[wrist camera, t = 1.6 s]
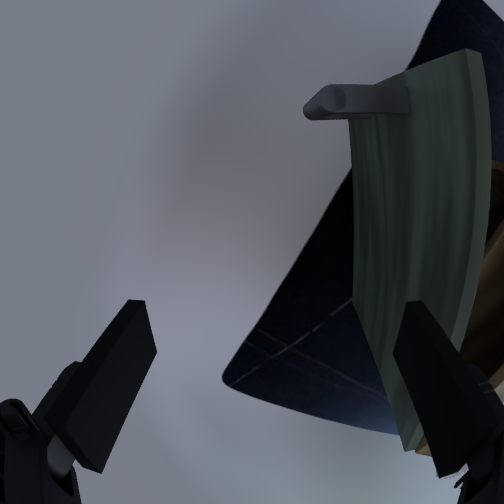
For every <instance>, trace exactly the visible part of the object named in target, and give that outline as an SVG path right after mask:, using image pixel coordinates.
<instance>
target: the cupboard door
mask: <svg viewBox="0 0 504 504" xmlns="http://www.w3.org/2000/svg"><path fill="white" fill-rule="evenodd" d="M303 113H304V115H305V117H306V118H308V119H309V120H335V119H348V122H349V134H350V146H351V160H352V180H353V210H354V263H353V293H352V303H353V305H354V307H355V310H356V312H357V315H358V317H359V320H360V323H361V325H362V328H363V330H364V333H365V335H366V338H367V341H368V343H369V346H370V349H371V351H372V354H373V357H374V359H375V362H376V365H377V368H378V371H379V373H380V376H381V379H382V382H383V385H384V388H385V391H386V394H387V397H388V400H389V403H390V406H391V409H392V412H393V415H394V418H395V421H396V424H397V428H398V431H399V434H400V438H401V441H402V444H403V448H404V451H405V452H406V451H410V450H414V449H416V447H417V445H418V444H419V442H420V440H421V438H422V436H423V434H424V432H423V429H422V426H421V424H420V421H419V418H418V416H417V413H416V410H415V408H414V405H413V403H412V400H411V397H410V395H409V392H408V390H407V387H406V385H405V383H404V380H403V378H402V375H401V373H400V371H399V368H398V366H397V364H396V361H395V359H394V357H393V354H392V353H393V349H394V346H395V343H396V339H397V336H398V332H399V328H400V325H401V321H402V317H403V313H404V309H405V305H406V301H423V303H424V304H425V305H426V307H427V308H428V309H429V311H430V312H431V313H432V315H433V316H434V318H435V319H436V320H437V322H438V323H439V325H440V326H441V328H442V329H443V330H444V332H445V333H446V335H447V336H448V338H449V339H450V341H451V342H452V344H453V345H454V347H455V348H456V350H457V351H458V353H459V350H460V347H461V344H462V341H463V338H464V334H465V331H466V328H467V324H468V321H469V317H470V314H471V310H472V306H473V302H474V298H475V294H476V290H477V285H478V280H479V276H480V271H481V265H482V260H483V254H484V247H485V241H486V233H487V225H488V216H489V204H490V189H491V129H490V114H489V103H488V94H487V86H486V79H485V73H484V67H483V61H482V56H481V53H479V52H476V51H472V50H469V49H463V50H460V51H457V52H454V53H451V54H448V55H446V56H443V57H440V58H437V59H435V60H432V61H429V62H427V63H424V64H422V65H419V66H417V67H414V68H412V69H409V70H407V71H404V72H402V73H400V74H397V75H395V76H393V77H390V78H388V79H386V80H383V81H381V82H379V83H377V84H375V85H357V84H352V85H351V84H350V85H349V84H333V85H327V86H325V87H323V88H322V89H321V90H320V91H319V92H318V93H317V94H316V95H315V96H314V97H312V98H311V99H310V100H309V101H308V102H307V103H306V104H305V105H304V108H303Z"/></svg>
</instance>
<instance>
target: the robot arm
mask: <svg viewBox="0 0 504 504" xmlns="http://www.w3.org/2000/svg"><path fill="white" fill-rule="evenodd" d="M156 354H157V350H156V346H155V342H154V339H153V334H152V330H151V326H150V322H149V318H148V313H147V310H146V305H145V301H143V300H128V301H127V302H126V304H125V305H124V306H123V307H122V309H121V310H120V311H119V312H118V314H117V315H116V316H115V318H114V319H113V320H112V322H111V323H110V324H109V325H108V327H107V328H106V330H105V331H104V332H103V333H102V335H101V336H100V338H99V339H98V340H97V341H96V343H95V344H94V346H93V347H92V348H91V350H90V351H89V353H88V354H87V355H86V357H85V358H84V359H83V361H82V362H77V361H75V362H73V363H72V364H70V365H69V366H67V367H66V368H65V369H64V370H63V371H62V373H61V374H60V375H59V377H58V378H57V381H55V382H54V384H53V385H52V388H50V389H49V391H48V392H47V394H46V395H45V396H44V398H43V399H42V401H41V402H40V404H39V405H38V407H37V408H36V410H35V411H34V412H33V414H32V415H31V413H30V412H29V411H28V409H27V408H26V406H25V405H24V403H23V402H22V401H20V400H18V399H8V400H4V401H3V402H1V403H0V504H81V499H80V494H79V489H78V482H77V476H76V472H75V469H74V467H73V466H72V464H73V462H74V460H75V459H76V460H77V461H78V462H79V463H80V465H81V466H82V467H83V468H86V469H89V470H92V471H94V472H97V473H102V472H103V469H104V467H105V464H106V462H107V460H108V458H109V455H110V453H111V451H112V448H113V446H114V444H115V442H116V439H117V437H118V435H119V433H120V430H121V428H122V426H123V424H124V421H125V419H126V417H127V415H128V413H129V410H130V408H131V406H132V404H133V402H134V400H135V397H136V395H137V393H138V391H139V389H140V387H141V385H142V383H143V380H144V379H145V376H146V374H147V372H148V370H149V368H150V366H151V364H152V362H153V360H154V358H155V356H156ZM392 354H393V357H394V359H395V361H396V364H397V366H398V368H399V371H400V373H401V375H402V378H403V380H404V383H405V385H406V387H407V390H408V392H409V395H410V397H411V400H412V403H413V405H414V408H415V410H416V413H417V416H418V418H419V421H420V424H421V426H422V429H423V432H424V435H425V437H426V440H427V443H428V446H429V449H430V452H431V455H432V458H433V461H434V464H435V467H436V470H437V473H438V477H439V478H442V477H445V476H448V475H451V474H454V473H457V472H458V471H459V470H460V469H461V468H462V467H463V466H464V465H465V464H466V463H467V466H468V469H469V470H468V471H467V472H466V473H465V474H464V475H463V476H462V477H461V478H460V479H459V480H458V481H457V482H456V484H455V486H454V488H457V487H458V486H459V485H460V484H461V483H462V482H463V485H462V486H461V488H460V489H461V492H460V496H459V499H458V503H457V504H504V405H503V403H502V401H501V400H500V398H499V396H498V395H497V393H496V391H494V388H493V386H492V385H491V383H489V380H488V378H487V377H486V375H485V374H484V372H483V371H482V370H481V369H480V368H478V367H477V366H476V365H475V364H473V363H470V364H465V362H464V360H463V359H462V357H461V356H460V354H459V353H458V351H457V350H456V348H455V347H454V345H453V344H452V342H451V341H450V339H449V338H448V336H447V335H446V333H445V332H444V330H443V329H442V328H441V326H440V325H439V323H438V322H437V320H436V319H435V318H434V316H433V315H432V313H431V312H430V311H429V309H428V308H427V307H426V305H425V304H424V303H423V301H406V305H405V309H404V313H403V317H402V321H401V325H400V328H399V332H398V336H397V339H396V343H395V346H394V349H393V353H392Z"/></svg>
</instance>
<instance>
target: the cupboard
mask: <svg viewBox="0 0 504 504" xmlns="http://www.w3.org/2000/svg"><path fill="white" fill-rule="evenodd" d="M459 354H460V356H461V357H462V359H463V360H464V362H465V364H470V363H473V364H475V365H476V366H477V367H478V368H480V369H481V370H482V371H483V372H484V374H485V375H486V377H487V378H488V380H489V383H491V385H492V386H493V388H494V391H496V393H497V395H498V396H499V398H500V400H501V401H502V403H503V405H504V163H503V162H499V161H495V160H491V189H490V204H489V216H488V225H487V233H486V241H485V247H484V254H483V260H482V265H481V271H480V276H479V280H478V285H477V290H476V294H475V298H474V302H473V306H472V310H471V314H470V317H469V321H468V324H467V328H466V331H465V334H464V338H463V341H462V344H461V347H460V350H459ZM414 450H415V453H417V454H422V455H427V456H431V457H432V455H431V452H430V449H429V446H428V443H427V440H426V437H425V435H424V434H423V436H422V438H421V440H420V442H419V444H418V445H417V447H416V449H414Z"/></svg>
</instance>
